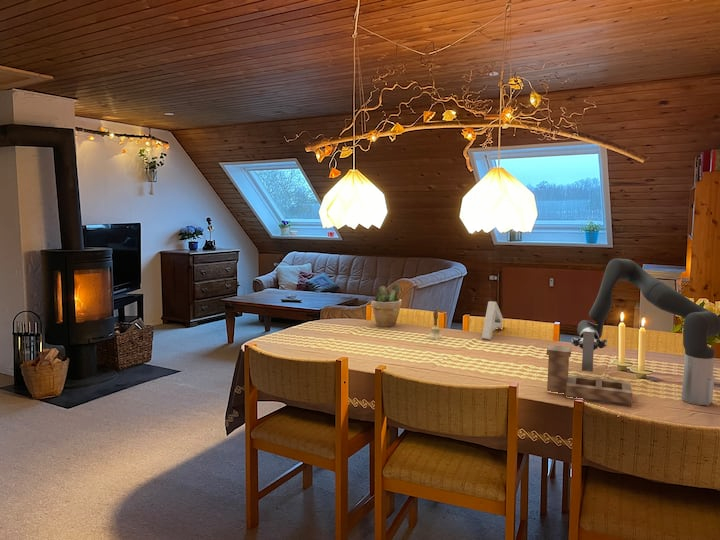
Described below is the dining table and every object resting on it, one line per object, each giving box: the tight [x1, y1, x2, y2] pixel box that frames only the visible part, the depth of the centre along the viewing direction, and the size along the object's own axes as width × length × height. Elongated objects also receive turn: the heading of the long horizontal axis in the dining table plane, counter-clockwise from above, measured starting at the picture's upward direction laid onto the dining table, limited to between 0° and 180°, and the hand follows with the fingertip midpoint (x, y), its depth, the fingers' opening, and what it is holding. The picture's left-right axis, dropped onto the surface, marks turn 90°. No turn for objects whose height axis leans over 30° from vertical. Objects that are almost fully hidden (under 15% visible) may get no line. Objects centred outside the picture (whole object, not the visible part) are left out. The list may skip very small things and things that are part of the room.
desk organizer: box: [546, 344, 633, 408], centre depth 210 cm, size 30×14×17 cm, turn 67°
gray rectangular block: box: [581, 329, 595, 373], centre depth 222 cm, size 4×5×16 cm
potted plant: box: [370, 283, 403, 328], centre depth 332 cm, size 18×19×25 cm
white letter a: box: [481, 300, 504, 341], centre depth 313 cm, size 22×4×30 cm
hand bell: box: [427, 308, 444, 340], centre depth 302 cm, size 8×8×16 cm
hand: (588, 346), depth 219 cm, fingers closed on gray rectangular block, 4 cm apart
